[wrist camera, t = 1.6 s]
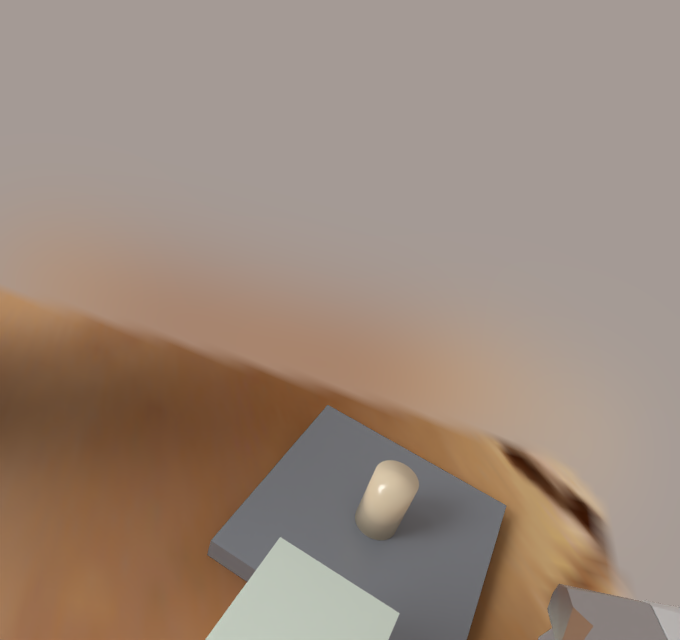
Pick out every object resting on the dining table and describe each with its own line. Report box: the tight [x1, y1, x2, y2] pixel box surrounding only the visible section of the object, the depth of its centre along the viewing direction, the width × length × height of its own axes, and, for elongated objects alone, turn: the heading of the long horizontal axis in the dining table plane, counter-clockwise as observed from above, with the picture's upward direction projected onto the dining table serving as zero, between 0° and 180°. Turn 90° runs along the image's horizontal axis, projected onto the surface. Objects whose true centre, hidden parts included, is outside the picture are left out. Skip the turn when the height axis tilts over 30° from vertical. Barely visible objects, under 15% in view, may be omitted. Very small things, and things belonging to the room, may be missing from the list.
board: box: [207, 405, 506, 640], centre depth 39 cm, size 16×16×6 cm
